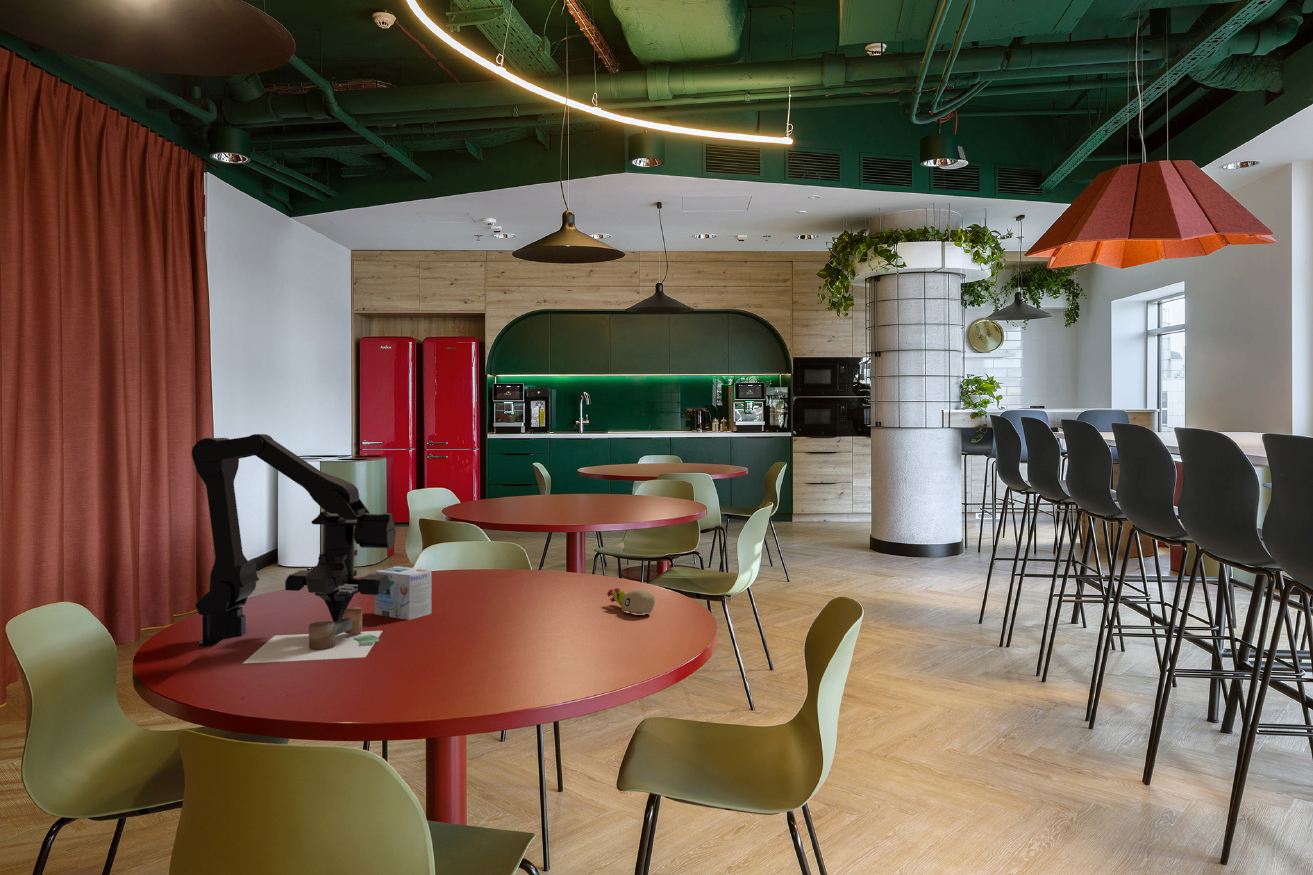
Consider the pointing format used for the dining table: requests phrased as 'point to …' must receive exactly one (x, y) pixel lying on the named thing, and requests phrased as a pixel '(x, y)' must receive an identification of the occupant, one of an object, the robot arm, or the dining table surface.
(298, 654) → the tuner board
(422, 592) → the light bulb box
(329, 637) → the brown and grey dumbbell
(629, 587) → the dining table surface
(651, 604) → the toy
